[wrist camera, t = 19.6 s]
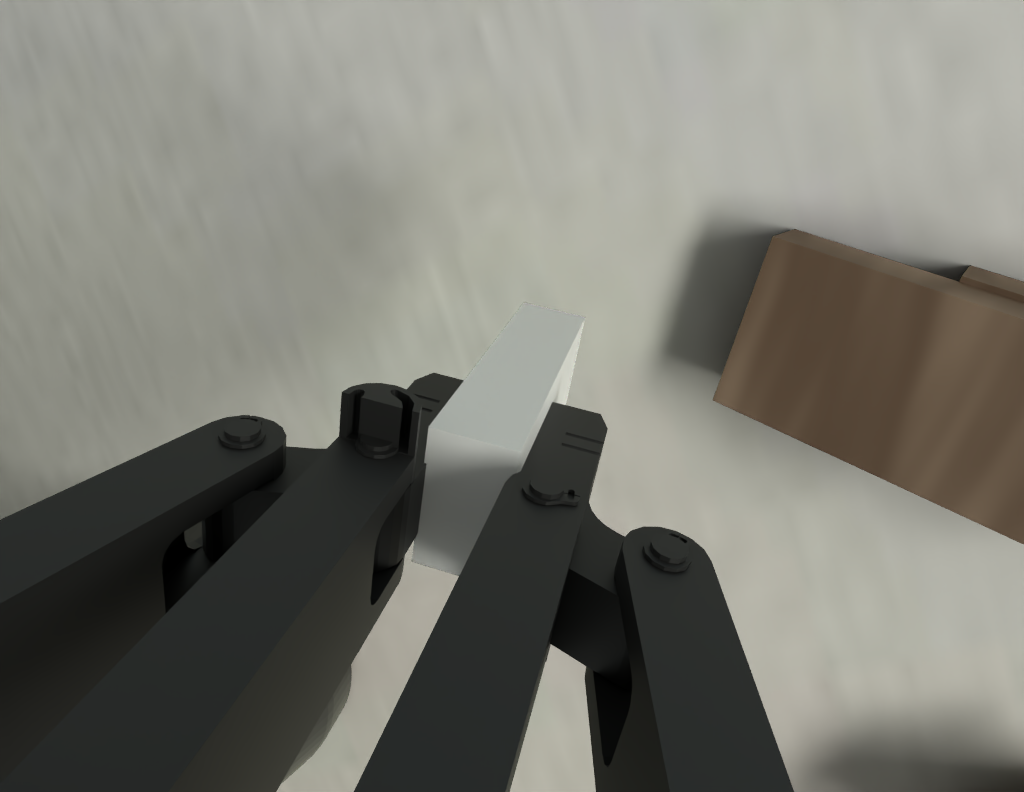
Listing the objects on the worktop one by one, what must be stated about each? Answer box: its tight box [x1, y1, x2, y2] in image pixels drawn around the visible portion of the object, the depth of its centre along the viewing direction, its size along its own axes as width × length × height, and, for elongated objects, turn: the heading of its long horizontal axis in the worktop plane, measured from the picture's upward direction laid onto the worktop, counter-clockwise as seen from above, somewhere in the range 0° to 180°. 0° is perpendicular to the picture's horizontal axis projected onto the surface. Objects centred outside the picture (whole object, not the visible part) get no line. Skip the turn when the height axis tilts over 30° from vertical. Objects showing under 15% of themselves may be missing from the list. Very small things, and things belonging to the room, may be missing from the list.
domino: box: [713, 229, 1024, 544], centre depth 19 cm, size 2×5×10 cm
